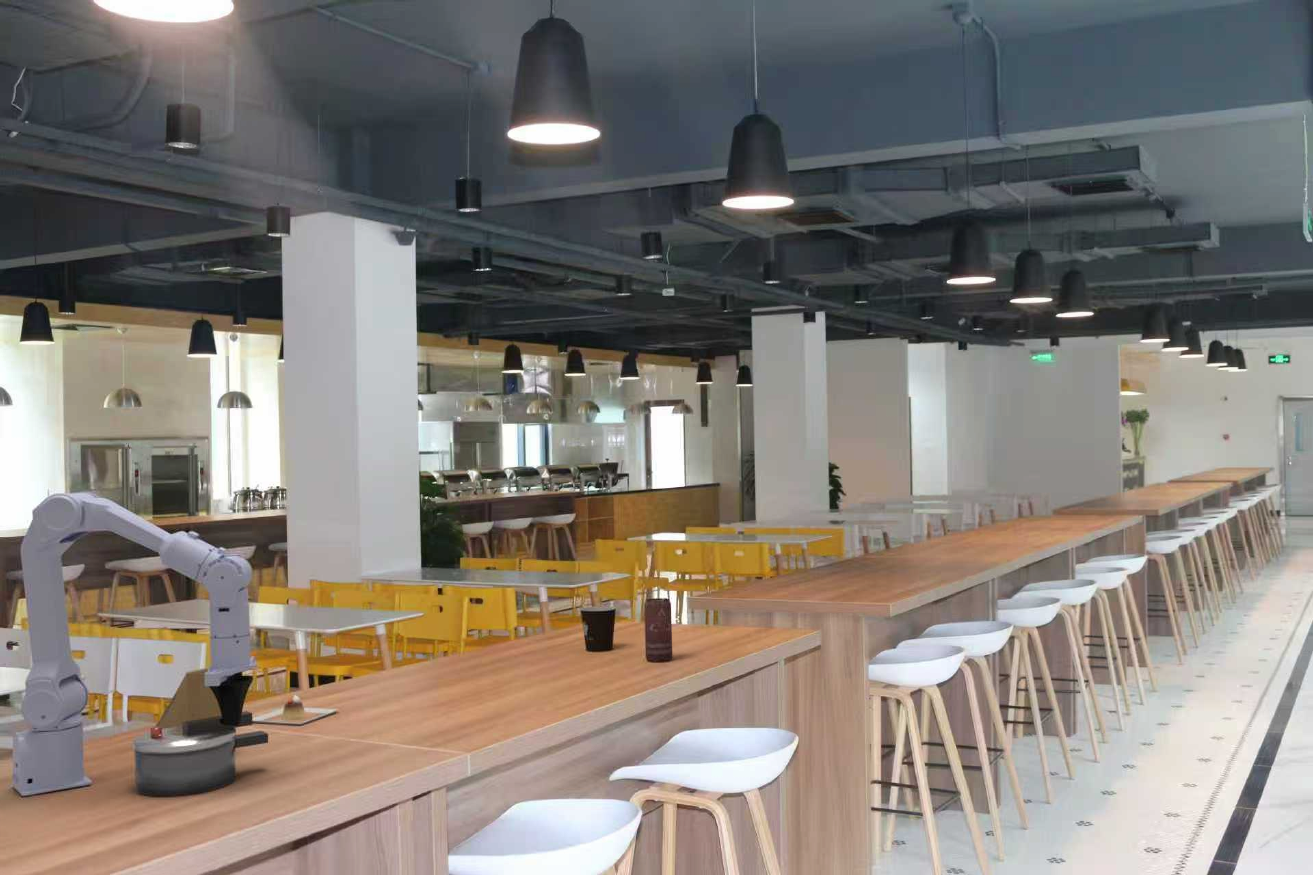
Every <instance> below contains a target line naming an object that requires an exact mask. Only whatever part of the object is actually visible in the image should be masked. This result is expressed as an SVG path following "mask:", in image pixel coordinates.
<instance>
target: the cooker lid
mask: <svg viewBox="0 0 1313 875" xmlns="http://www.w3.org/2000/svg"><path fill="white" fill-rule="evenodd" d="M252 718H253V713H252V712H250V711H246V710H245V711H242V715H241V720H240V724H239V725H238V726H225V725H224V722H223V718H222V716H216V717H210V718H204V719H198V720H192V721H186V722H182V726H178V727H171V728H165V729H162V727H156V726H153V727H150V731H148V732H145V733H142V734H140V735H138V736H137V735H136V737H134V738H133V739H132V749H133V751H134V752H135V751H138V752H142V753H150V754H172V753H184V752H193V751H199V750H205V749H210V748H214V747H218V746H222V745H225V744H227V743H230V742H232V741H233V740H235V739H236V735H237V729H236V728H241V727H248V726H252V725H253V722H252Z"/></svg>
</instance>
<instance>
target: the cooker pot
mask: <svg viewBox="0 0 1313 875" xmlns="http://www.w3.org/2000/svg"><path fill="white" fill-rule="evenodd" d="M268 743H269V733H267V732H265V731H263V730H258V731H250V732H247V733H246V732H245V733H239V734H236V739H235V740H233V741H232V742H230V743H227V744H225V745H222V746H218V747H214V748H210V749H205V750H199V751H193V752H184V753H172V754H150V753H142V752H138V751H135V750H134V785H135V787H134V789H135V792H136V793H137V794H139V795H141V796H147V797H155V798H156V797H159V798H165V797H166V798H167V797H168V798H169V797H182V796H191V795H197V794H203V793H207V792H211V791H215V790H219V789H222V788H225V787H227V786H228V785H231V784H233V783H234V782H235V781H236V779H237V777H236V776H237V774H236V773H237V771H236V749H238V748H245V747H251V746H257V745H263V744H268Z"/></svg>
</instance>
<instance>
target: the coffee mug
mask: <svg viewBox="0 0 1313 875" xmlns="http://www.w3.org/2000/svg"><path fill="white" fill-rule="evenodd" d="M616 611H617V610H616V607H615V606H589V607H588V606H587V607H581V608H580V615H581V622H582V631H583V638H584V645H585V651H586V652H592V653H602V652H609V651H611V652H612V650H613V646H614V637H615V636H614V633H615V624H616Z"/></svg>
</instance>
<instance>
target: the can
mask: <svg viewBox="0 0 1313 875" xmlns="http://www.w3.org/2000/svg"><path fill="white" fill-rule="evenodd" d="M643 604H644V605H643V606H644V607H643V608H644V610H643V612H644V639H645V642H644V644H645V659H646V661H647V662H649V663H666V662H667V663H669V662H670V661H672V659H673V637H672V636H673V632H672V631H673V629H672V603H671V601H670V599H669V598H666V597H663V598H662V597H661V598H648V599H645V601H644V603H643Z"/></svg>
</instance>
